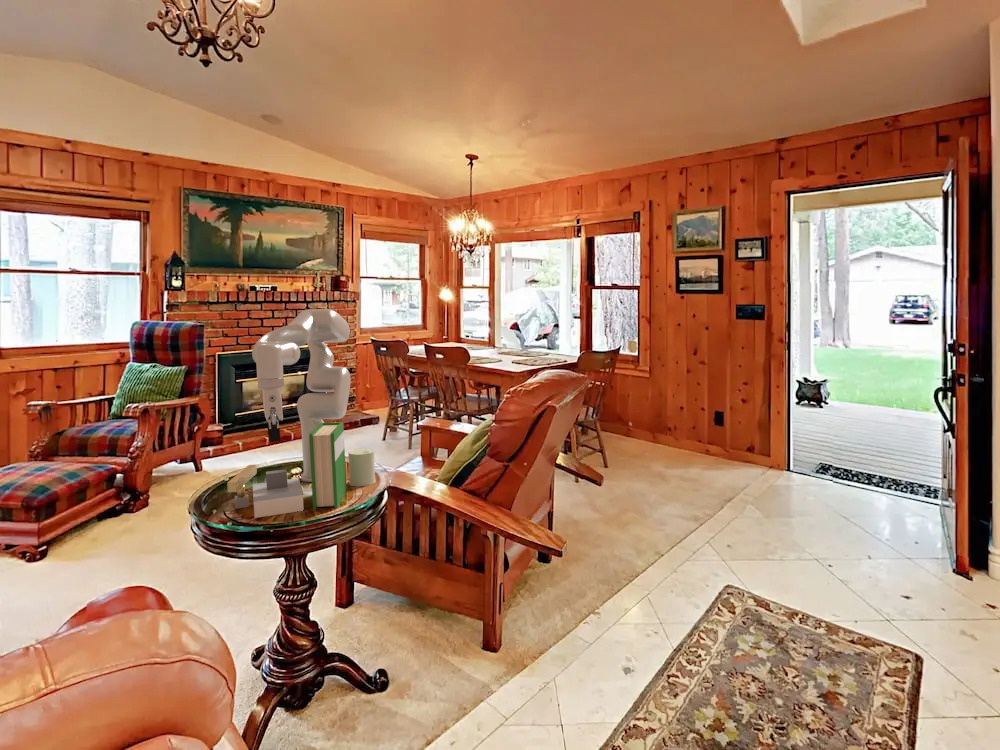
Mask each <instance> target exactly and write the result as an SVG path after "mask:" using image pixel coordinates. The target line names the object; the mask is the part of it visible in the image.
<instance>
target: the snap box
mask: <svg viewBox="0 0 1000 750" xmlns="http://www.w3.org/2000/svg"><path fill="white" fill-rule="evenodd" d="M233 501H234V509H242V508H249V507H250V500H249V493H245V496H244V497H237V495H234V500H233ZM303 510H304V494H303V495H300V496H292V497H285V498H278V499H271V500H263V501H256V502H254V501H253V515H254V516H253V517H254V519H256V518H263V517H270V516H276V515H284V514H290V513H291V514H292V513H297V511H298V512H304V511H305V510H304V511H303Z"/></svg>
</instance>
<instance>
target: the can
mask: <svg viewBox="0 0 1000 750" xmlns="http://www.w3.org/2000/svg"><path fill="white" fill-rule="evenodd" d="M347 454H348V466H349V467H348V468H349V470H348V471H349V485H350V486H352V487H367V486H371V485H374V484H376V482H377V480H376V471H375V470H376V467H375V466H376V465H375V449H373V448H370V447H369V448H363V447H362V448H355V449H351V450H349V451H348V452H347Z"/></svg>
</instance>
